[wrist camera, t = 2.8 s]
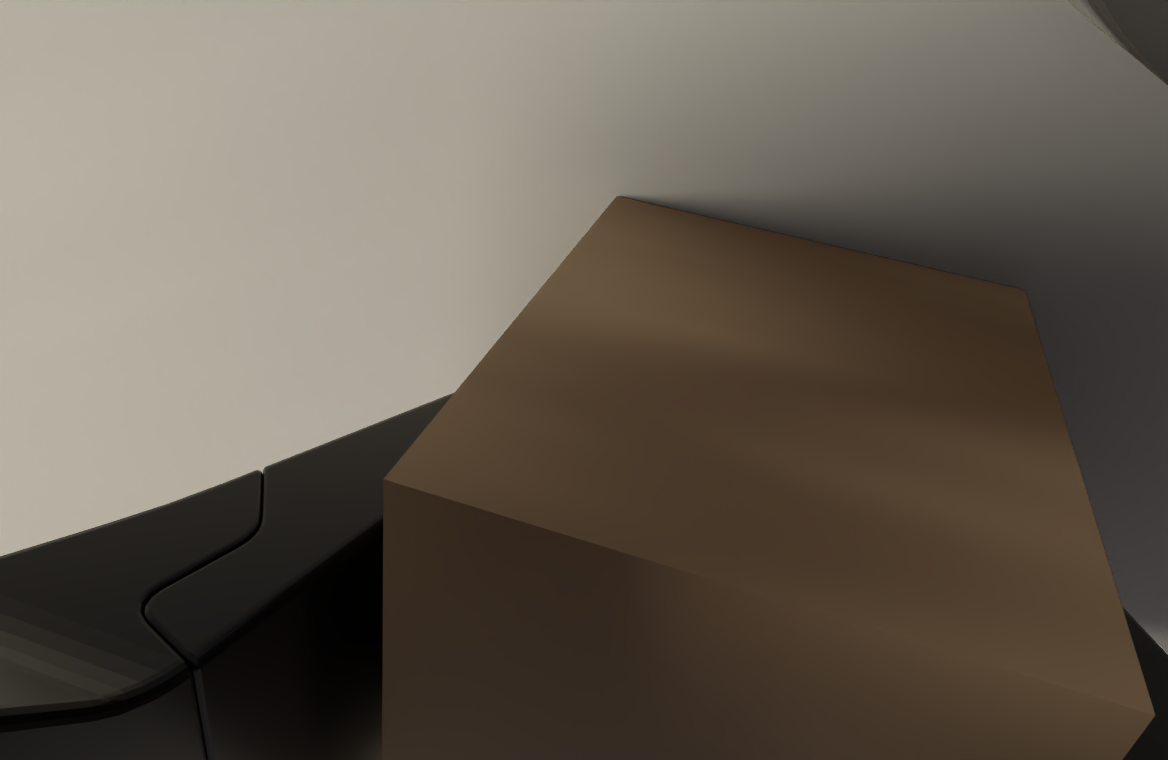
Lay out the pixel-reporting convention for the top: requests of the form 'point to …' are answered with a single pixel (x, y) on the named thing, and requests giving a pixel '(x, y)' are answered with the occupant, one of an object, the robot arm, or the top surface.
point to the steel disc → (1133, 28)
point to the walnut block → (752, 521)
